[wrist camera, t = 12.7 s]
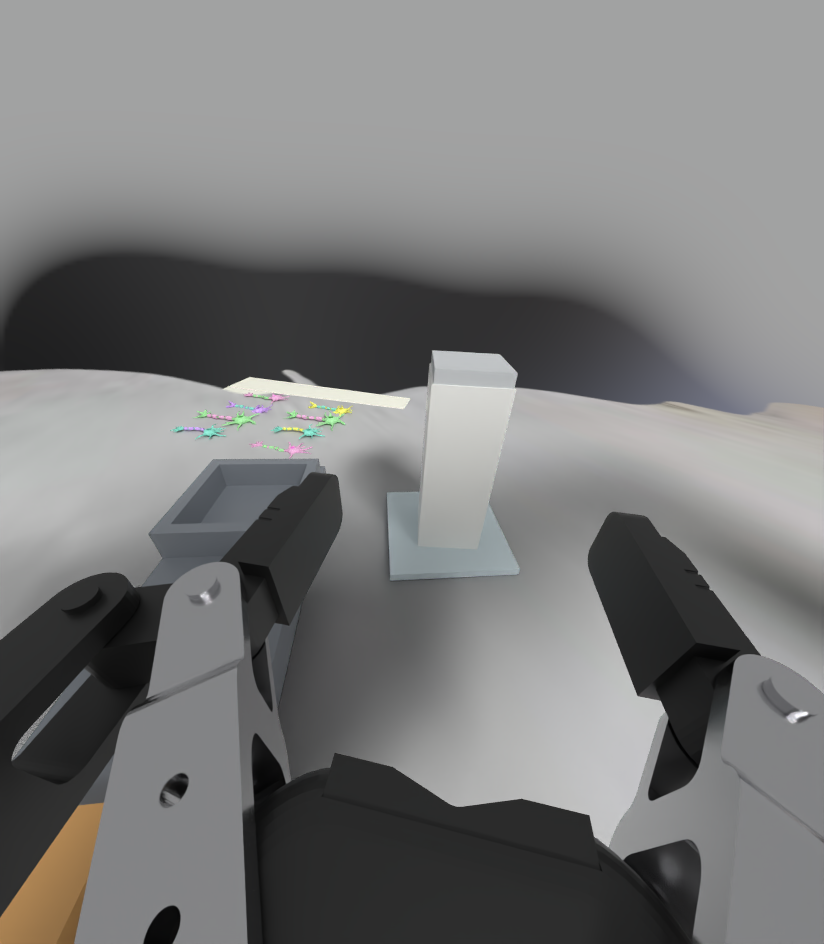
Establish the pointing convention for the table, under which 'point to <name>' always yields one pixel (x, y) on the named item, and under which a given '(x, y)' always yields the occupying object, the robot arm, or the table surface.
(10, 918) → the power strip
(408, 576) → the mat
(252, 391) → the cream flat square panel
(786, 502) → the table surface
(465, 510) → the block
